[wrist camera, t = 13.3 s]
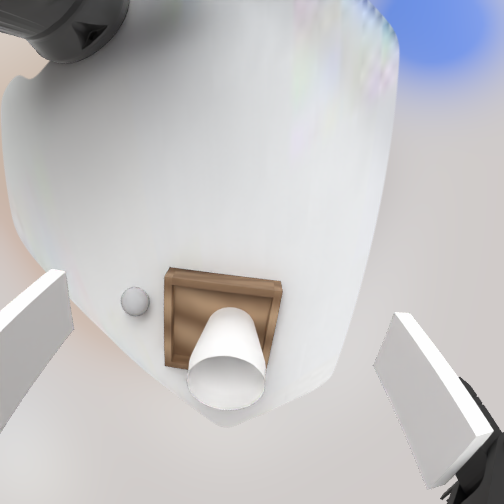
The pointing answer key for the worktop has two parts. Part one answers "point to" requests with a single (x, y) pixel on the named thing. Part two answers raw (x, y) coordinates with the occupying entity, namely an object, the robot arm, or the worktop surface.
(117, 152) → the worktop surface
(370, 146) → the worktop surface
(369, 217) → the worktop surface
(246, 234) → the worktop surface
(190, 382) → the cup
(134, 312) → the ball
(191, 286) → the tray
